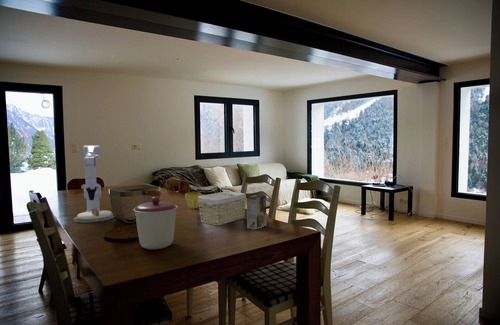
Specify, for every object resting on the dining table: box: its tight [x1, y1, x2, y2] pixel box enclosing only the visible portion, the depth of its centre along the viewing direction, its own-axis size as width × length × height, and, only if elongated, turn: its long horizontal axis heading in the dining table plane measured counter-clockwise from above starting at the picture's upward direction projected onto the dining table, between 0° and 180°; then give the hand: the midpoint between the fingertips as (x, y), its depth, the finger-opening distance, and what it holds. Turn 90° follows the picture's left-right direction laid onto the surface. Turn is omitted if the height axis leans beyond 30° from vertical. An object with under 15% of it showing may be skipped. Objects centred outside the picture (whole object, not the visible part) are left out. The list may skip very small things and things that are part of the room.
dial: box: [76, 208, 112, 220], centre depth 192 cm, size 18×18×4 cm
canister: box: [133, 196, 179, 250], centre depth 140 cm, size 18×18×21 cm
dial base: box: [73, 212, 115, 224], centre depth 192 cm, size 22×22×2 cm
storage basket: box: [198, 191, 247, 226], centre depth 184 cm, size 24×16×15 cm
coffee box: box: [246, 194, 267, 230], centre depth 169 cm, size 9×6×16 cm
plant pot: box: [184, 192, 202, 210], centre depth 221 cm, size 10×10×10 cm
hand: (91, 200), depth 195 cm, fingers closed
